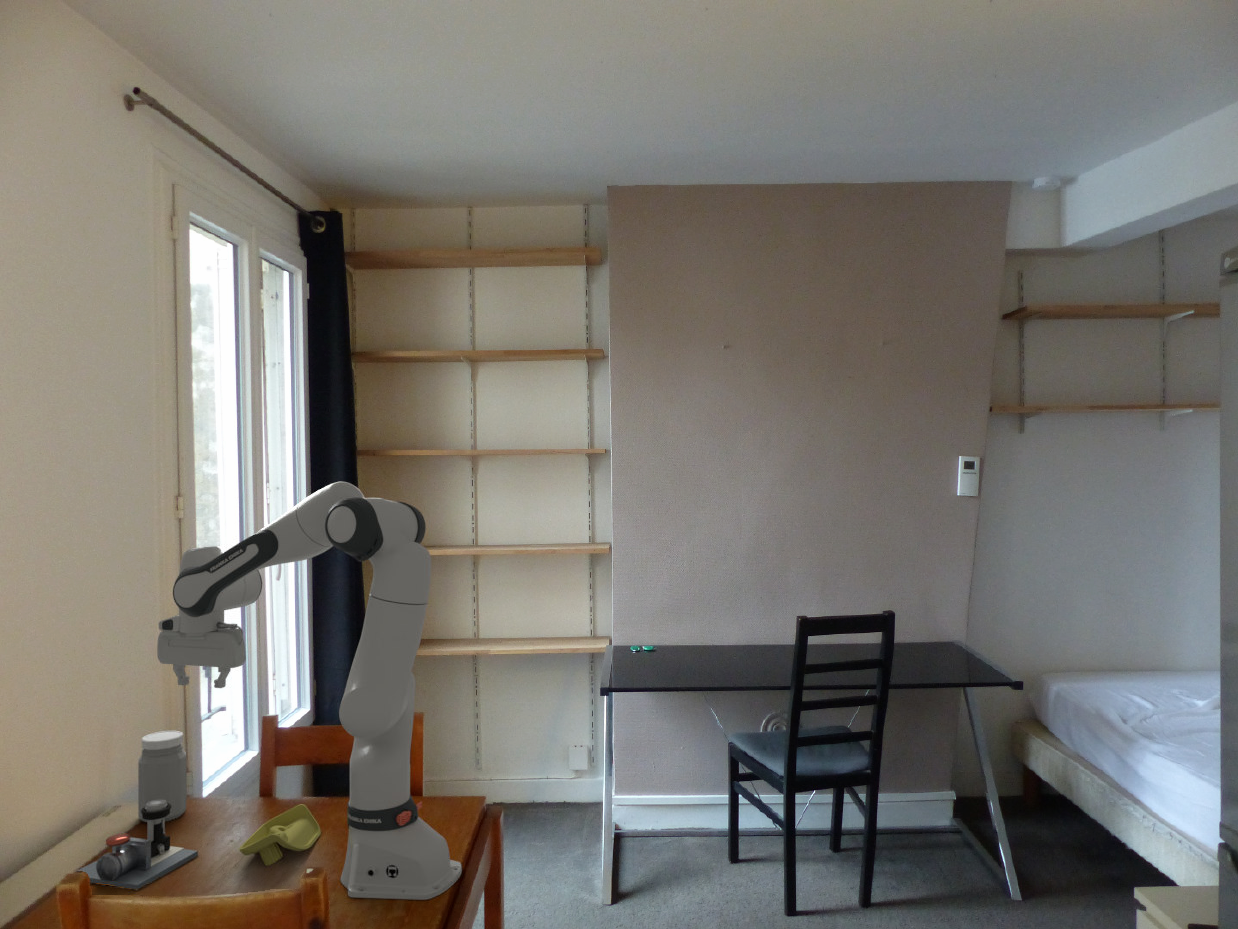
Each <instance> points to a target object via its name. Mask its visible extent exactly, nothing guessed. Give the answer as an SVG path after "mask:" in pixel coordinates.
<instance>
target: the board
mask: <svg viewBox="0 0 1238 929" xmlns="http://www.w3.org/2000/svg"><path fill="white" fill-rule="evenodd" d="M196 856H197V857H198V856H199V850H196V849H195V850H194V849H187V848H184V847H181V846H171V845H170V849H169V850H167V851H164V853H162V854H158V855H156V856H155V857H153V858H151V869H149V870H147V871H142V870H135V869H130V870H128V871H127V872H125V873H123V874H121V875H120V876H119V877H118V878H117V879H115V880H113V881H111V882H108V881H107V880H102V879H101V878H100V877H99V876H98V874H97V870H96V864H97V861H98V859H97V860H95V861H92V863H89V864H87V865H86V866H82V867H81V868H79V869H77V870H75V871H74V872H76V871H83V872H86V873H87V874H88V876H89V878H90V882H91V883H90V884H91V885H93V884H92V883H100V884H101V883H102V884H110V885H114V886H118V887H124V888H131V889H139V888H141V887H142V886H144V885H146V884H147V883H150V884H151V883H153V882H155V881H157V880H158V879H160V878H162V877H164V876H165V875H167V874H169V873H171V872H172V871H174V870H176V869H177V868H180V867H181V866H183V865H184V864H186V863H188V862H189V861H192V860H193V859H195V858H197V857H196ZM191 859H192V860H191ZM159 877H160V878H159ZM157 878H158V879H157ZM156 879H157V880H156ZM154 880H155V881H154ZM152 881H153V882H152ZM146 886H147V885H146ZM118 887H117V888H118ZM144 887H145V886H144ZM124 888H123V889H124ZM131 889H130V890H131ZM141 889H142V888H141ZM139 890H140V889H139Z"/></svg>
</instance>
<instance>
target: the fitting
mask: <svg viewBox="0 0 1238 929" xmlns="http://www.w3.org/2000/svg"><path fill="white" fill-rule="evenodd" d="M105 846H108V847H112V848H111V850H112V851H111V852H107V853H104V854H103V855H101V856H99V858H98V859H97V860H98V861H97V860H96V861H97V864H96V870H97V874H98V876H99V877H100V878H101V879H102V880H107V881H108V882H111V881H113V880H115V879H117V878H118V877H119V876H120V875H121V874H123V873H125V872H127V871H128V870H130V869H135V870H142V871H147V870H149V869H151V840H147V839H145V838H138V837H132V836H131V834H129V833H117V834H112V835H111V836H109V837H107V838H106V839H105Z"/></svg>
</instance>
